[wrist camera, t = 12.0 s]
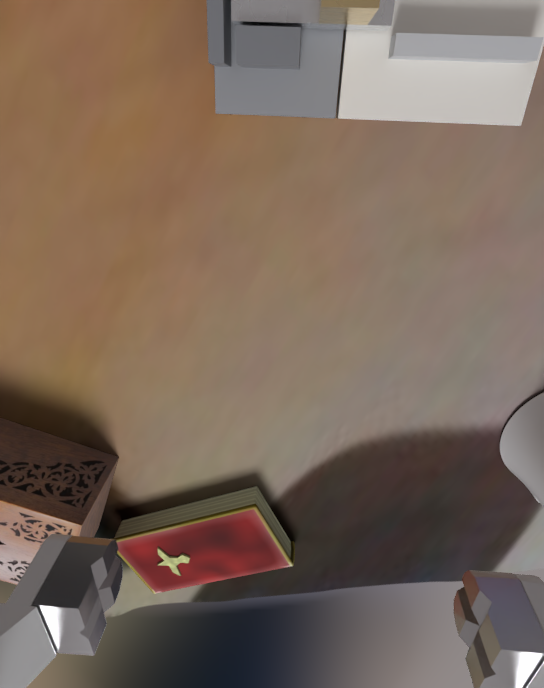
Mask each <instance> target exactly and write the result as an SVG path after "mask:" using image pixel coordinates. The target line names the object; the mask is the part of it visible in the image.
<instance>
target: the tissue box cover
mask: <svg viewBox="0 0 544 688" xmlns="http://www.w3.org/2000/svg"><path fill="white" fill-rule="evenodd" d="M118 459H119V457H117V456H114V455H111V454H108V453H105V452H102V451H99V450H96V449H93V448H90V447H87V446H84V445H81V444H78V443H75V442H72V441H69V440H66V439H63V438H60V437H57V436H54V435H51V434H48V433H45V432H42V431H39V430H36V429H33V428H30V427H27V426H24V425H21V424H18V423H15V422H12V421H9V420H6V419H3V418H0V580H2V581H5V582H9V583H12V584H16V585H17V584H18V583H19V581H20V579H21V578H22V576H23V575H24V573H25V571H26V570H27V568H28V566H29V565H30V563H31V562H32V560H33V558H34V557H35V555H36V553H37V552H38V550H39V549H40V547H41V545H42V544H43V542H44V540H46V539H47V538H48V537H49V536H50V535H51V534H62V535H74V536H81V537H91V538H93V537H94V535H95V533H96V531H97V529H98V527H99V524H100V521H101V517H102V514H103V510H104V507H105V503H106V500H107V497H108V493H109V490H110V486H111V483H112V480H113V476H114V473H115V469H116V466H117V462H118Z"/></svg>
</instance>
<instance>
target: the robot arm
mask: <svg viewBox="0 0 544 688" xmlns="http://www.w3.org/2000/svg"><path fill="white" fill-rule="evenodd" d="M500 453H501V457H502V459H503V462H504V463H505V465H506V466H507V468H508V469H509V470H510V471H511V472H512V473H513V474H514V475H516V476H517V477H518V478H519V479H520V480H521V481H522V482H523V483H524V485H525V486H526V487H527V488H528V489H529V490H530V492H531V493H532V495H533V496H534V497H535V499H536V500H537V501H538V502H539V503H541V505H542V506H543V507H544V392H543V393H541V394H540V395H538V396H536V397H534V398H533V399H531V400H530V401H528V402H527V403H526V404H524V405H523V406H522V407H521V408H520V409H519V410H518V411H517V412H516V413H515V414H514V415H513V416H512V417H511V419H510V420H509V421H508V423H507V425H506V426H505V428H504V431H503V433H502V436H501V440H500ZM118 549H119V548H118V545H117V541H116V540H112V539H102V538H91V537H81V536H74V535H62V534H51V535H50V536H49V537H48V538H47V539H46V540H44V542H43V544H42V545H41V547H40V549H39V550H38V552H37V553H36V555H35V557H34V558H33V560H32V562H31V563H30V565H29V566H28V568H27V570H26V571H25V573H24V575H23V576H22V578H21V579H20V581H19V583H18V584H17V586H16V588H15V589H14V591H13V593H12V594H11V596H10V597H9V599H8V601H7V602H6V603H0V688H26V687H27V686H28V685H29V684H30V683H31V682H32V681H33V680H34V679H35V678H36V677H37V675H38V674H39V673H40V672H41V671H42V670H43V669H44V668H45V667H46V666H47V665H48V664H49V663H50V662H51V661H52V660H53V659H54V658H55V657H56V653H65V654H78V655H93V656H94V654H95V652H96V649H97V647H98V644H99V642H100V639H101V637H102V634H103V632H104V629H105V627H106V624H107V623H106V619H105V615H104V612H105V611H107V610H108V609H109V608H110V607H111V606H112V605H113V604H114V603H115V601H116V598H117V596H118V593H119V590H120V585H121V581H122V573H123V567H122V562H121V560H120V559H119V558H118V557H116V554H117V551H118ZM462 581H463V584H464V587H463V588H461V589H460V590H458V591H457V593H456V596H455V599H454V617H455V623H456V627H457V631H458V634H459V637H460V638H461V639H462V640H463V641H464V642H465V643H466V645H467V646H468V647H469V650H468V653H467V656H466V662H467V666H468V669H469V672H470V676H471V679H472V683H473V686H474V688H544V582H543V581H542V580H541V579H540V578H539V577H537V576H532V575H519V574H512V573H501V572H486V571H472V570H469V571H467V572H465V574H464V576H463V578H462Z"/></svg>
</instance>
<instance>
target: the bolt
mask: <svg viewBox="0 0 544 688" xmlns="http://www.w3.org/2000/svg"><path fill="white" fill-rule="evenodd" d="M394 5H395V0H231V21H232V22H233V23H234V25H235V26H236V25H248V26H280V27H301V28H305V29H337V30H370V31H387V30H388V29H389V28H390V27H391V26H392V20H393V12H394Z"/></svg>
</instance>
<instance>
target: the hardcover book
mask: <svg viewBox="0 0 544 688" xmlns="http://www.w3.org/2000/svg"><path fill="white" fill-rule="evenodd" d="M112 540H116V541H117V545H118V548H119V549H118V551H117V553H118V554H119V556H120V557H121V558H122V559H123V560H124V561H125V562H126V563H127V564H128V566H129V567H130V568H131V569H132V570H133V571H134V572H135V573H136V574H137V576H138V577H139V578H140V579H141V580H142V581H143V582H144V583H145V584H146V586H147V587H148V588H149V589H150V590H151V591H152V592H153V593H154V594H155V593H160V592H165V591H170V590H175V589H180V588H185V587H190V586H195V585H199V584H204V583H209V582H214V581H219V580H224V579H229V578H234V577H239V576H244V575H249V574H254V573H259V572H264V571H269V570H274V569H279V568H284V567H289V566H293V565H294V556H295V545H294V541H290V540H289V538H288V536H287V535H286V533H285V531H284V530H283V528H282V526H281V525H280V523H279V522H278V520H277V518H276V517H275V515H274V513H273V512H272V510H271V508H270V507H269V505H268V503H267V502H266V500H265V498H264V497H263V495H262V494H261V492H260V490H259V489H258V487H257V486H255V487H251V488H247V489H243V490H240V491H236V492H232V493H228V494H224V495H220V496H216V497H212V498H208V499H204V500H200V501H197V502H193V503H189V504H185V505H181V506H177V507H173V508H169V509H165V510H161V511H157V512H154V513H150V514H146V515H142V516H138V517H134V518H130V519H126V520H122V522H121V524H120V526H119V529H118V531H117V533H116V535H115V537H114V538H113V539H112Z"/></svg>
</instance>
